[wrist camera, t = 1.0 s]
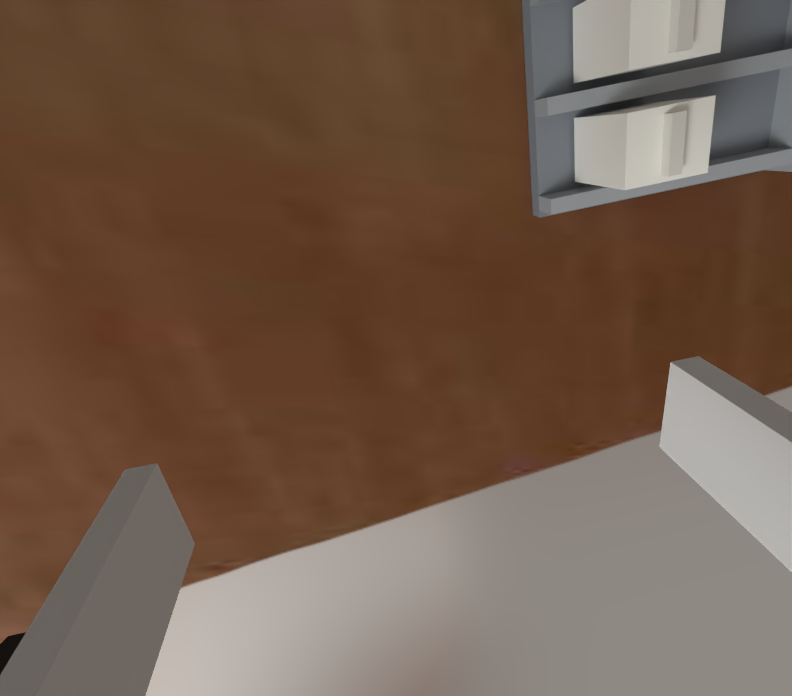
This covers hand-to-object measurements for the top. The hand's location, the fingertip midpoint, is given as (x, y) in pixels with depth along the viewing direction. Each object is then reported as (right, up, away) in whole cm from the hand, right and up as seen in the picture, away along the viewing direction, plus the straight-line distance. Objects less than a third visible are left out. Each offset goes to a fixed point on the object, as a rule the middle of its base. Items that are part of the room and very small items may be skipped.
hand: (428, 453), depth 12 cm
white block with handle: (+14, +17, +19) cm, 29 cm away
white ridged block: (+13, +22, +17) cm, 30 cm away
